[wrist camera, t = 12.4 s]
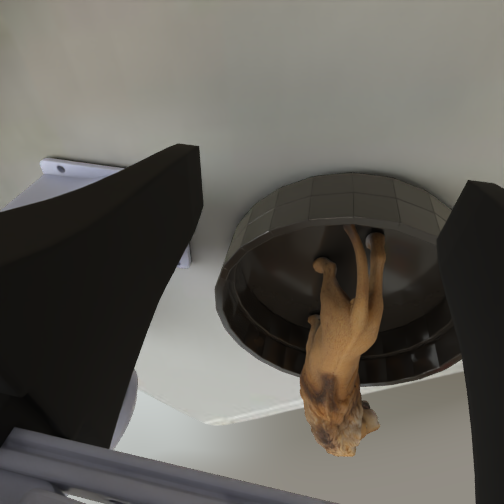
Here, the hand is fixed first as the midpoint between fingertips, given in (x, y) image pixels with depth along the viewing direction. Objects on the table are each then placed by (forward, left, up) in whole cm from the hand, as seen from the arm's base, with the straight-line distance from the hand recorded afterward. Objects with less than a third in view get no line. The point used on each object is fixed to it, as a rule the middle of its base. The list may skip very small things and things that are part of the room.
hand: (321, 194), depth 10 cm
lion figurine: (+4, -14, -9) cm, 17 cm away
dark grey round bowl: (+3, -12, -9) cm, 16 cm away
